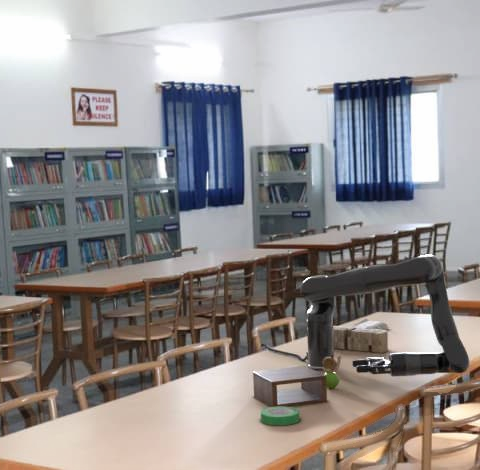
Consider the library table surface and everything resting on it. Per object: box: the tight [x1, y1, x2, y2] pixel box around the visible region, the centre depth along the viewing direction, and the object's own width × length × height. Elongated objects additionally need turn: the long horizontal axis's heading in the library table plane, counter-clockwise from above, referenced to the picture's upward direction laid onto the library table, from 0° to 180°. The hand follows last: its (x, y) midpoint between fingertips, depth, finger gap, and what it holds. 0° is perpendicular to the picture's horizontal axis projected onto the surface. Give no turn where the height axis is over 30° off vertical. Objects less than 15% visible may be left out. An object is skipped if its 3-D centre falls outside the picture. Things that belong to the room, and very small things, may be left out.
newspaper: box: [350, 318, 389, 330], centre depth 396 cm, size 35×12×4 cm, turn 143°
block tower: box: [333, 325, 389, 354], centre depth 367 cm, size 8×8×29 cm
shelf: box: [252, 365, 328, 407], centre depth 293 cm, size 16×18×8 cm
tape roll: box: [260, 406, 300, 426], centre depth 270 cm, size 11×11×3 cm
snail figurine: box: [322, 351, 342, 389], centre depth 305 cm, size 5×6×12 cm
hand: (354, 366), depth 304 cm, fingers open, 8 cm apart
